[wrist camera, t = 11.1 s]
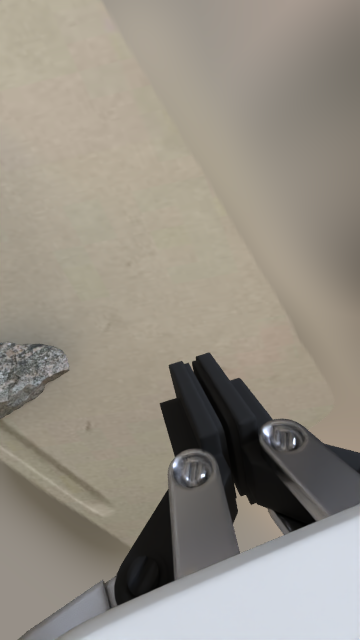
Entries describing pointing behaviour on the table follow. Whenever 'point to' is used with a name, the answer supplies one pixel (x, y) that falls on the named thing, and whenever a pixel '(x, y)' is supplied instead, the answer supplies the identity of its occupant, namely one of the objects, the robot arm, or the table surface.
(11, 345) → the rock
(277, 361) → the table surface
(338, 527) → the robot arm
